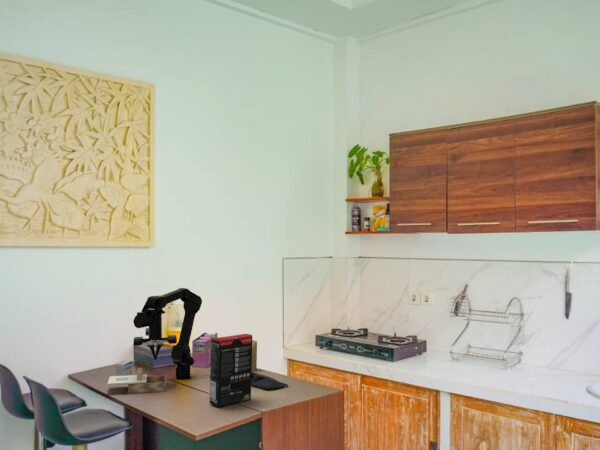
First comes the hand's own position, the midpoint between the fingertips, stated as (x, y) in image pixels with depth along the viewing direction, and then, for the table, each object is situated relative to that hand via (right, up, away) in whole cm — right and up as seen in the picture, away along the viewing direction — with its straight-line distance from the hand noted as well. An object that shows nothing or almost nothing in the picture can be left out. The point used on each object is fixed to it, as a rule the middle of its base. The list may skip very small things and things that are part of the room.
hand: (155, 359), depth 263 cm
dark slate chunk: (+48, -13, +5) cm, 50 cm away
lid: (-11, -8, -5) cm, 14 cm away
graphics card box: (+37, -13, -22) cm, 45 cm away
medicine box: (-17, -12, +10) cm, 23 cm away
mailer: (-3, -12, -3) cm, 13 cm away
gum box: (+15, -12, +46) cm, 50 cm away
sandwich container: (+35, -13, +26) cm, 46 cm away
